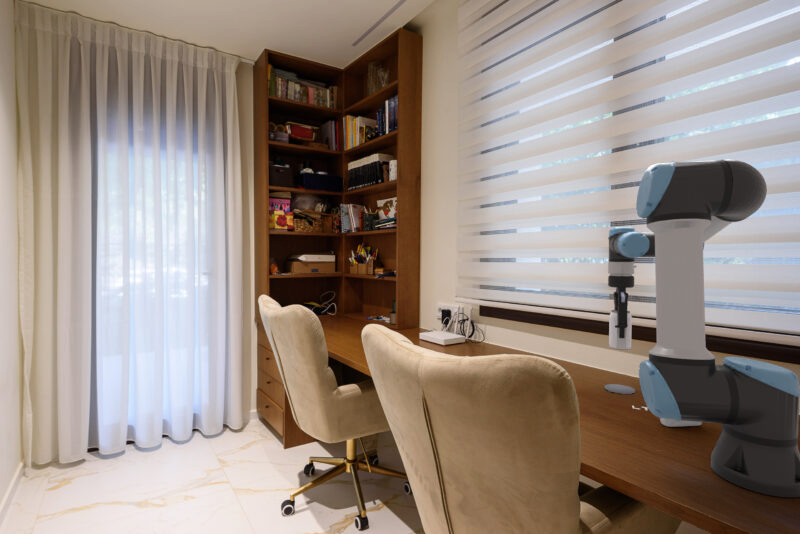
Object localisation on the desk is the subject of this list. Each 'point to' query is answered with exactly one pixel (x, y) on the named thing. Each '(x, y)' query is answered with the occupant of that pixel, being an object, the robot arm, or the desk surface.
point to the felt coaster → (619, 388)
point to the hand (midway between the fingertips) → (620, 345)
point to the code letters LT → (639, 409)
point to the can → (614, 330)
